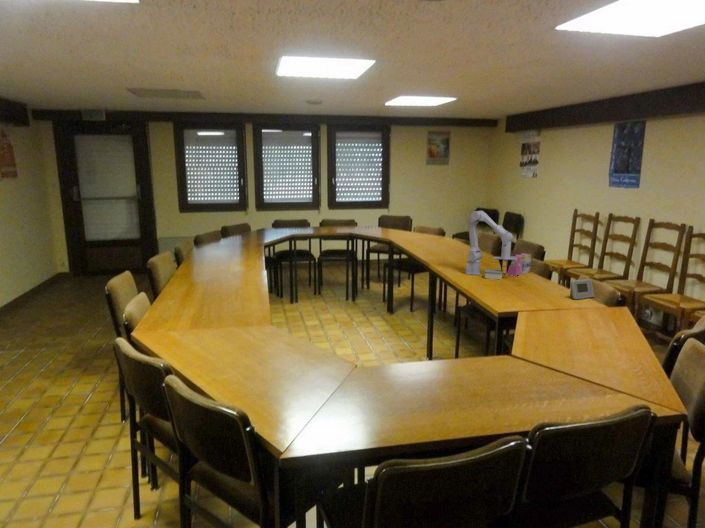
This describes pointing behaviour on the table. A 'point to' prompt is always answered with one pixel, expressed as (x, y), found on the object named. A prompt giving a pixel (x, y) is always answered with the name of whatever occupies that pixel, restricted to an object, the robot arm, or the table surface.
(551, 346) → the table surface
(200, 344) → the table surface
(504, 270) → the lid
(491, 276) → the tub
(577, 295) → the digital clock
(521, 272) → the gum box
